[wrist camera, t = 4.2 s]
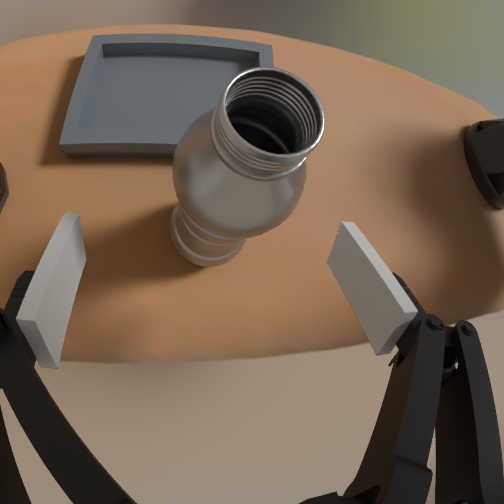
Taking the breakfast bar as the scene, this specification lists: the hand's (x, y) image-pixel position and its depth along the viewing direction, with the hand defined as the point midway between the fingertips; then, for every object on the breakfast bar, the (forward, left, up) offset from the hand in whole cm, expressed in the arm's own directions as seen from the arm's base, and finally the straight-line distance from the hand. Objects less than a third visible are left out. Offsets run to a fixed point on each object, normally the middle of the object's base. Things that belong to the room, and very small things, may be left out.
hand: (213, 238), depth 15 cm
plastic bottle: (-1, -3, -13) cm, 14 cm away
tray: (+3, -17, -13) cm, 22 cm away
